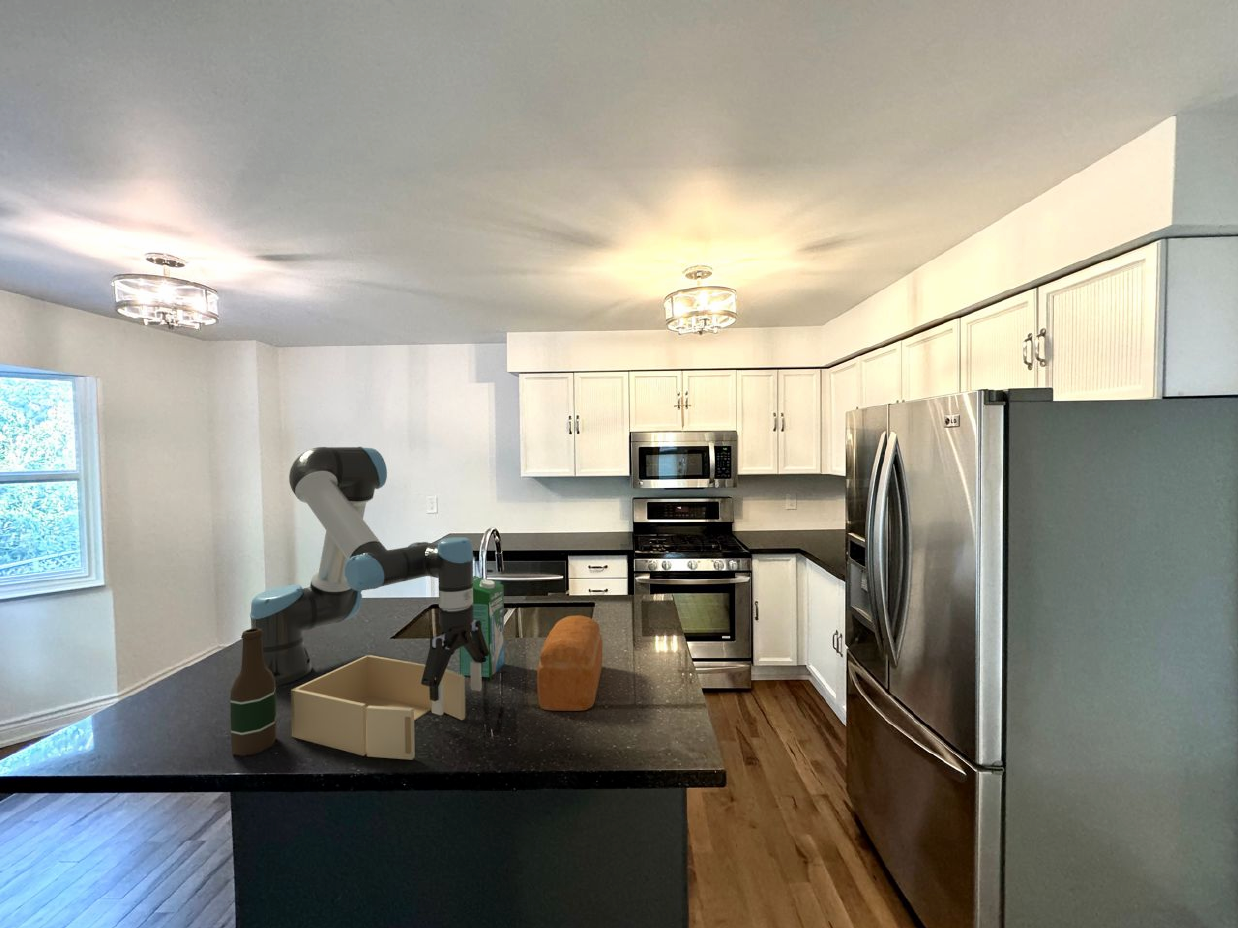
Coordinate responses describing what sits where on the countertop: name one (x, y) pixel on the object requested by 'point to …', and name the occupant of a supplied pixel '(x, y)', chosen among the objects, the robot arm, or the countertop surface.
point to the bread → (570, 665)
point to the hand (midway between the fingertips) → (457, 700)
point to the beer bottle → (253, 700)
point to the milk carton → (487, 625)
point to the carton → (355, 700)
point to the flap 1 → (390, 732)
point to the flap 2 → (453, 694)
